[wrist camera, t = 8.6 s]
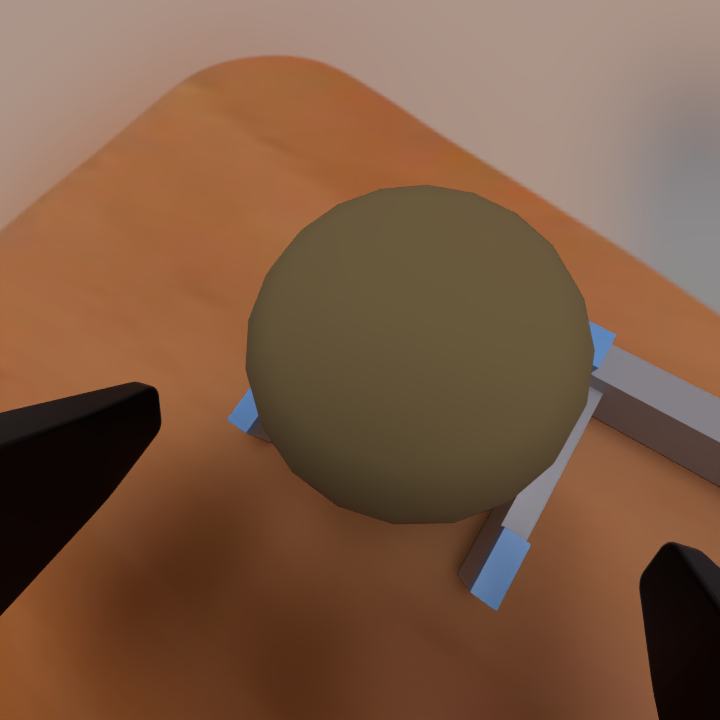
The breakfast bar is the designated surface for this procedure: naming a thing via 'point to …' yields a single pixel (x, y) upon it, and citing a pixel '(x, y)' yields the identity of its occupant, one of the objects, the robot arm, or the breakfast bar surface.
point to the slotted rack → (606, 403)
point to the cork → (419, 355)
